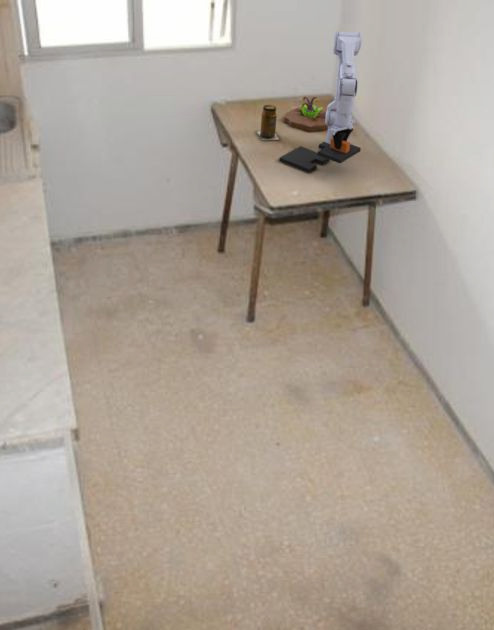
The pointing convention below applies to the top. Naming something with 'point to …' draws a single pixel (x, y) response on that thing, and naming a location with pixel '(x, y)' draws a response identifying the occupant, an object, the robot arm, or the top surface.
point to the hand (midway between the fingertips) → (339, 147)
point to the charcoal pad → (337, 151)
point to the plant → (307, 117)
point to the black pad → (303, 159)
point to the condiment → (268, 123)
